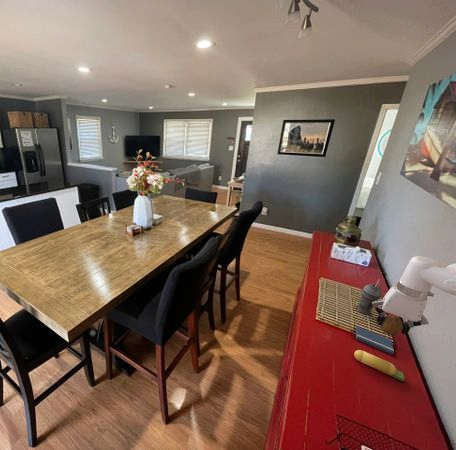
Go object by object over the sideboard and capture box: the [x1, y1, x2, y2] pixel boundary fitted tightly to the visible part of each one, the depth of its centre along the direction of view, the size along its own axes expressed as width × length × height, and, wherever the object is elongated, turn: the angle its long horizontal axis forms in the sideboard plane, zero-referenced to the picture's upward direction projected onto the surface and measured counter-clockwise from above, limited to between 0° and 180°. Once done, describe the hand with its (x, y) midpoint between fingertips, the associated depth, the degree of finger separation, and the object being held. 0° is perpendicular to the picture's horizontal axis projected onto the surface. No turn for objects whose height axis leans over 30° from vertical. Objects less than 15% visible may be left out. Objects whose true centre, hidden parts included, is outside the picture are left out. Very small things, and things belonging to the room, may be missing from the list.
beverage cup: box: [357, 278, 383, 315], centre depth 117 cm, size 7×7×20 cm
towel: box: [355, 326, 395, 356], centre depth 104 cm, size 12×8×2 cm, turn 52°
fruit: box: [379, 314, 404, 336], centre depth 91 cm, size 6×6×8 cm
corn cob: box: [353, 349, 405, 382], centre depth 92 cm, size 15×4×4 cm, turn 52°
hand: (390, 327), depth 91 cm, fingers closed on fruit, 6 cm apart
